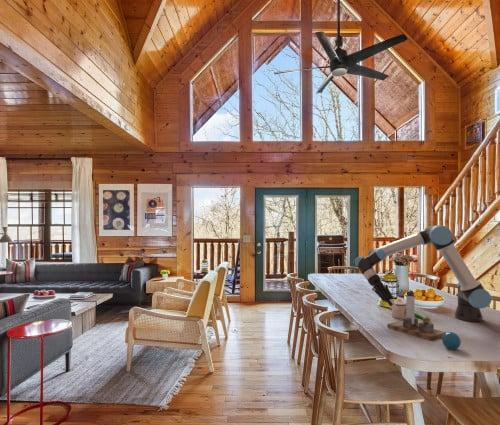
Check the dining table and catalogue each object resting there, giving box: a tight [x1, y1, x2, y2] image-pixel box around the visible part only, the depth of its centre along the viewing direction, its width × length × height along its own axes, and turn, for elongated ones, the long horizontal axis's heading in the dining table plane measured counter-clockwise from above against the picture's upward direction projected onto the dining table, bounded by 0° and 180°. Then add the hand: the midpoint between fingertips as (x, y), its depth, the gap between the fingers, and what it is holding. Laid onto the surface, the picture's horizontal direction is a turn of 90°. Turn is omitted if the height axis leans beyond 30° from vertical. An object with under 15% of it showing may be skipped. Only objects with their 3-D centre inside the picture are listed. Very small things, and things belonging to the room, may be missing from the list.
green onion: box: [414, 310, 431, 322], centre depth 226 cm, size 5×3×30 cm
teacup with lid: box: [391, 298, 407, 320], centre depth 223 cm, size 12×9×12 cm
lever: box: [405, 289, 416, 325], centre depth 194 cm, size 4×4×19 cm
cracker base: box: [386, 316, 446, 341], centre depth 191 cm, size 26×14×9 cm, turn 33°
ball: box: [441, 331, 462, 350], centre depth 165 cm, size 8×8×8 cm
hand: (396, 309), depth 201 cm, fingers closed
